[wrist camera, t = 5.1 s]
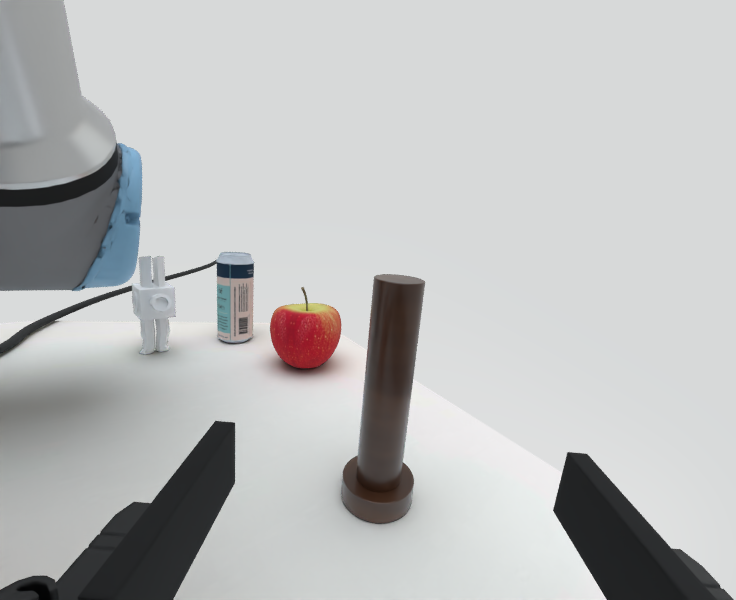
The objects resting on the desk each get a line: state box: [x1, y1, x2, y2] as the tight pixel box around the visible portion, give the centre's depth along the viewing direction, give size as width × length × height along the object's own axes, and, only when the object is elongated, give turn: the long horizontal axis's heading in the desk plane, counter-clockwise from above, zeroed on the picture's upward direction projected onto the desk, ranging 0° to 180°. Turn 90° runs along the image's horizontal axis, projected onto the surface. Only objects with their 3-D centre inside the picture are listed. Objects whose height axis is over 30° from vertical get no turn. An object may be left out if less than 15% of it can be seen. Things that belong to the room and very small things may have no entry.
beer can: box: [216, 252, 254, 343], centre depth 49 cm, size 5×5×12 cm
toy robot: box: [132, 256, 176, 354], centre depth 42 cm, size 4×8×12 cm, turn 44°
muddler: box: [341, 274, 425, 523], centre depth 23 cm, size 5×5×15 cm
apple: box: [270, 287, 341, 368], centre depth 43 cm, size 8×8×10 cm
